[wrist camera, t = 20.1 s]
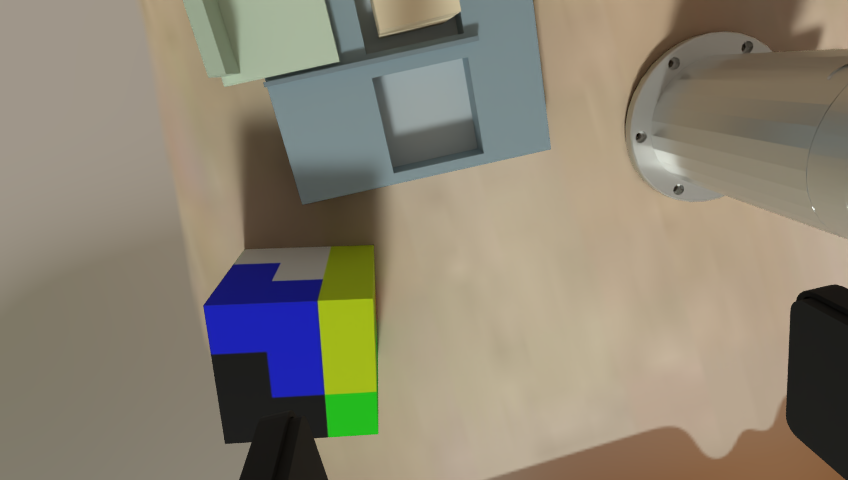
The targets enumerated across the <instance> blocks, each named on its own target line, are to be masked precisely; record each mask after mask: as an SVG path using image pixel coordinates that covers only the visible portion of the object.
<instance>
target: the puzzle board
mask: <svg viewBox="0 0 848 480" xmlns="http://www.w3.org/2000/svg"><path fill="white" fill-rule="evenodd" d="M459 1H460V7H461V12H459V13H458V14H456V15H455V16H453V17H452V18H451V19H449V20H448V21H446V22H445V23H443V24H440V25H436V26H432V27H428V28H423V29H419V30H415V31H411V32H406V33H402V34H398V35H394V36H389V37H385V38H381V39H379V37H378V32H377V28H376V24H375V20H374V15H373V11H372V7H371V3H370V0H325V2H326V6H327V10H328V14H329V18H330V22H331V26H332V31H333V35H334V39H335V43H336V47H337V51H338V55H339V59H340V62H336V63H332V64H327V65H323V66H318V67H313V68H309V69H304V70H300V71H295V72H290V73H286V74H281V75H277V76H272V77H268V78H265V81H266V82H263V83H264V87H267V88H268V91H269V95H270V98H271V101H272V105H273V108H274V111H275V115H276V118H277V121H278V125H279V128H280V131H281V135H282V138H283V142H284V145H285V148H286V152H287V155H288V158H289V162H290V165H291V168H292V172H293V175H294V178H295V182H296V185H297V189H298V192H299V195H300V199H301V202H302V205H304V204H308V203H313V202H317V201H322V200H326V199H331V198H335V197H340V196H344V195H349V194H353V193H357V192H362V191H366V190H371V189H375V188H380V187H384V186H389V185H393V184H398V183H402V182H407V181H411V180H416V179H420V178H425V177H429V176H433V175H438V174H442V173H447V172H451V171H456V170H460V169H465V168H469V167H474V166H478V165H483V164H487V163H492V162H496V161H501V160H505V159H509V158H514V157H518V156H523V155H527V154H532V153H536V152H541V151H545V150H550V149H551V146H550V138H549V129H548V121H547V113H546V105H545V96H544V88H543V80H542V72H541V63H540V55H539V47H538V39H537V30H536V22H535V14H534V6H533V0H459Z"/></svg>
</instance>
